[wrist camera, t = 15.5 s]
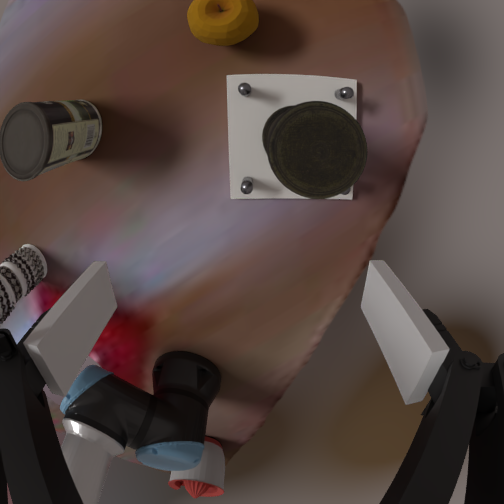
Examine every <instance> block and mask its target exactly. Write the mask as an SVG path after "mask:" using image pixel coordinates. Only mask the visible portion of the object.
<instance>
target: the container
mask: <svg viewBox="0 0 504 504" xmlns="http://www.w3.org/2000/svg"><path fill="white" fill-rule="evenodd" d="M262 142H263V146H264V149H265V152H266V154H267V156H268V161H269V164H270V167H271V169H272V171H273V173H274V175H275V176H276V177H277V179H278V180H279V181H280V182H281V183H282V184H283V185H284V186H285V187H286V188H287V189H289V190H290V191H292V192H294V193H296V194H298V195H300V196H303V197H306V198H311V199H326V198H331V197H334V196H337V195H339V194H341V193H343V192H345V191H346V190H348V189H349V188H350V187H351V186H352V185H353V184H354V183H355V182H356V181H357V180H358V178H359V177H360V175H361V174H362V172H363V169H364V167H365V163H366V159H367V143H366V138H365V135H364V133H363V130H362V128H361V126H360V125H359V123H358V122H357V121H356V119H355V118H354V117H353V116H352V115H351V114H350V113H348V112H347V111H346V110H344V109H343V108H341V107H339V106H337V105H335V104H332V103H329V102H324V101H308V102H303V103H300V104H297V105H292V106H286V107H283V108H280V109H278V110H277V111H275V112H274V113H273V114H272V115H271V116H270V117H269V118H268V119H267V121H266V123H265V125H264V128H263V132H262Z"/></svg>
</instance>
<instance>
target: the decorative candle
mask: <svg viewBox="0 0 504 504" xmlns="http://www.w3.org/2000/svg"><path fill="white" fill-rule="evenodd" d="M46 274H47V263H46V260H45V258H44V256H43V254H42V253H41V251H40V250H39V249H38V248H37V247H35V246H34V245H31V244H25V245H23V246H22V247H20V248H19V251H18V250H17V251H15V254H14V253H13V254H12V255H10V256H9V257H8V258H6V259H5V261H3V262H2V264H1V265H0V324H2V323H3V321H5V320H6V318H7V316H10V312H12V310H13V309H14V308H15V306H16V303H17V302H18V300H20V299H21V298H23V297H24V296H27V294H29V293H30V291H31V290H33V289H34V287H36V285H38V284H39V283H40V282H41V281H42V280H43V278H44V277H45V276H46Z"/></svg>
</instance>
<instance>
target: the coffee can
mask: <svg viewBox="0 0 504 504" xmlns="http://www.w3.org/2000/svg"><path fill="white" fill-rule="evenodd" d="M101 134H102V120H101V117H100V114H99V112H98V110H97V108H96V107H95V106H94V105H93V104H92V103H90V102H88V101H86V100H72V101H48V102H23V103H20V104H18V105H16V106H15V107H13V108H12V109H11V110H10V111H9V113H8V114H7V115H6V117H5V119H4V121H3V124H2V126H1V130H0V157H1V161H2V163H3V166H4V168H5V169H6V171H7V172H8V173H9V174H10V176H12V177H13V178H14V179H16V180H19V181H28V180H31V179H33V178H35V177H36V176H38V175H40V174H42V173H45V172H47V171H50V170H52V169H55V168H57V167H60V166H63V165H65V164H68V163H71V162H74V161H76V160H80V159H84V158H86V157H87V156H89V155H90V154H91V153H92V152H93V151H94V150H95V149H96V147H97V145H98V144H99V141H100V138H101Z"/></svg>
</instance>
